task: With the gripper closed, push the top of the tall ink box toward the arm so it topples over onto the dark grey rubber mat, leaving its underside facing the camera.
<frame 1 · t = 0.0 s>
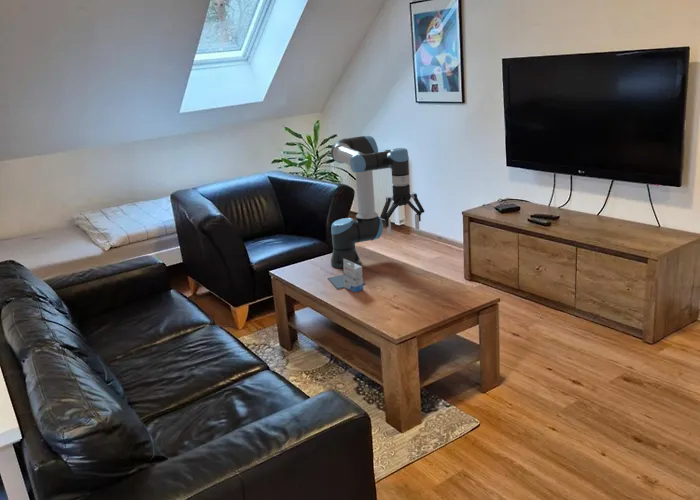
hand: (403, 231, 283), 28 cm above the table, fingers open, 13 cm apart
ink box: (353, 288, 297), on the table, touching mat
mat: (346, 281, 308), on the table
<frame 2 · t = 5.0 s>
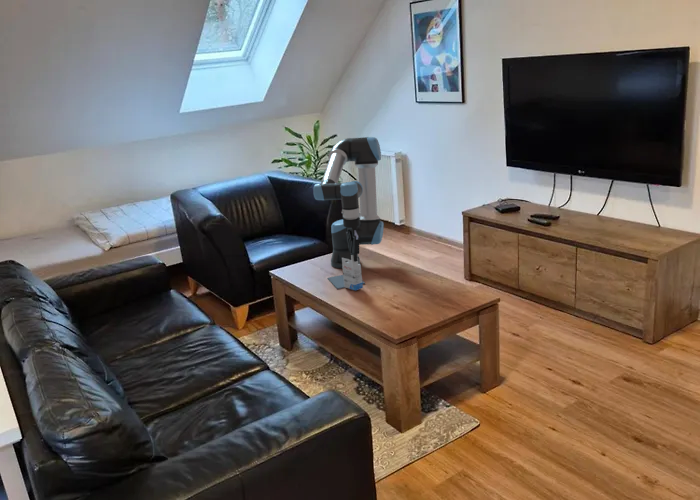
hand: (355, 267, 289), 12 cm above the table, fingers closed
ink box: (353, 287, 297), point 1 cm above the table, touching gripper, mat
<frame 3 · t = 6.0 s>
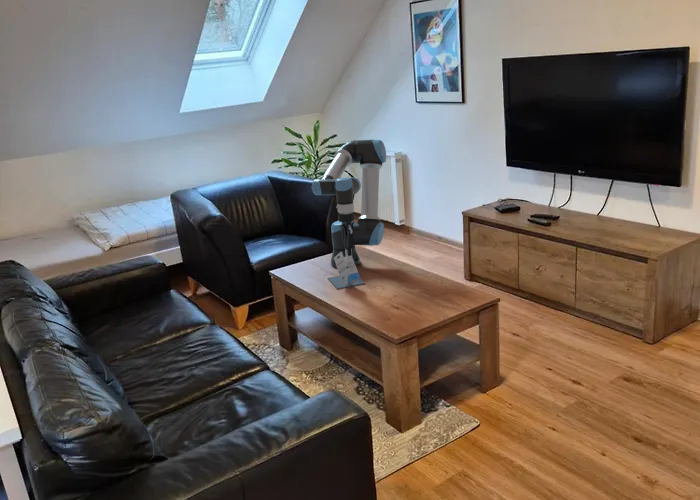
hand: (349, 261, 295), 13 cm above the table, fingers closed
ink box: (352, 282, 297), point 3 cm above the table, touching gripper, mat
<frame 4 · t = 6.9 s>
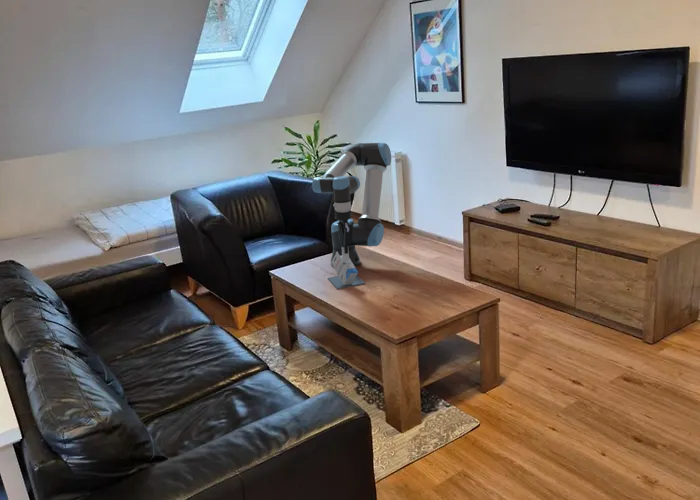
hand: (345, 259, 299), 13 cm above the table, fingers closed
ink box: (351, 279, 298), point 4 cm above the table, touching gripper, mat
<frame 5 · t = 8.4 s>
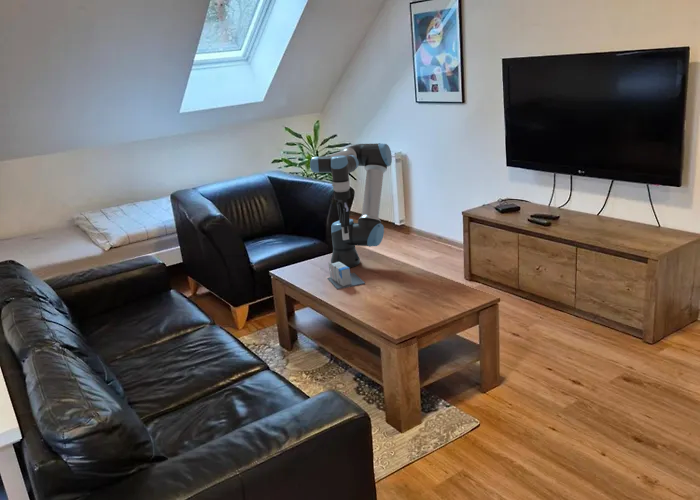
hand: (345, 239, 297), 23 cm above the table, fingers closed
ink box: (346, 277, 299), point 5 cm above the table, touching mat
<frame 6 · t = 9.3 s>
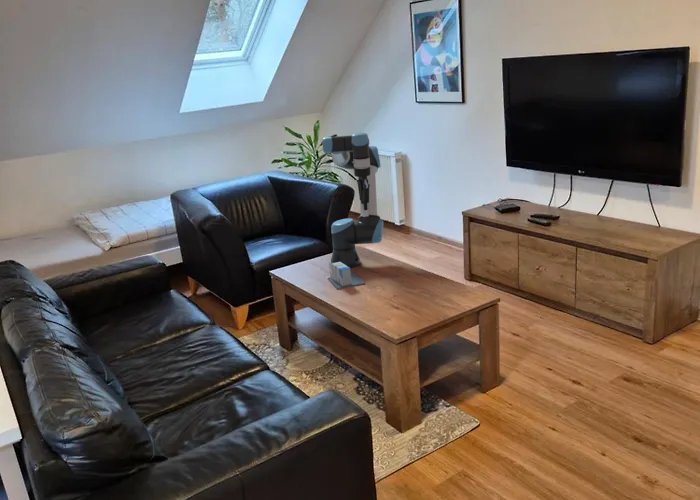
hand: (365, 216, 302), 31 cm above the table, fingers closed
nothing on the table moved.
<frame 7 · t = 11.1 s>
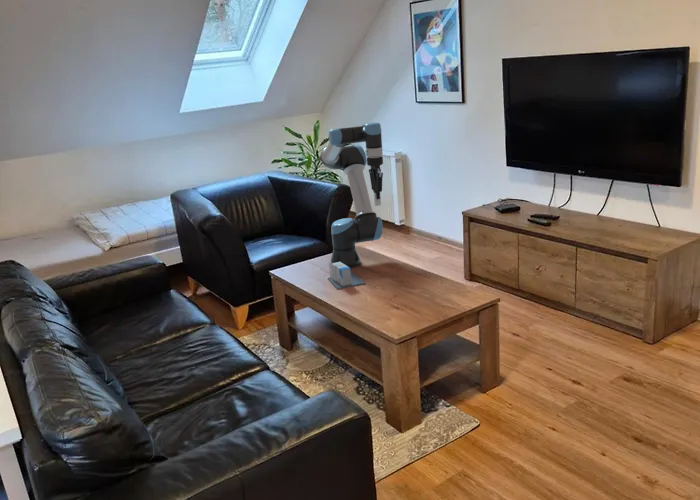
hand: (377, 205, 306), 34 cm above the table, fingers closed
nothing on the table moved.
at the end: ink box tilted 89°; ink box inside the target area (6.0 cm from its centre), point 4.8 cm above the table; the gripper is holding nothing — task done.
